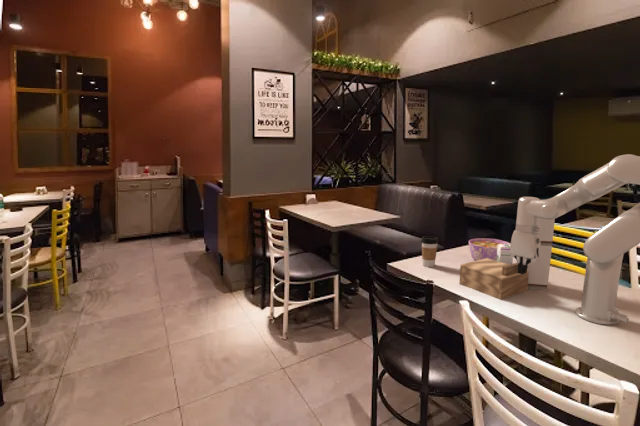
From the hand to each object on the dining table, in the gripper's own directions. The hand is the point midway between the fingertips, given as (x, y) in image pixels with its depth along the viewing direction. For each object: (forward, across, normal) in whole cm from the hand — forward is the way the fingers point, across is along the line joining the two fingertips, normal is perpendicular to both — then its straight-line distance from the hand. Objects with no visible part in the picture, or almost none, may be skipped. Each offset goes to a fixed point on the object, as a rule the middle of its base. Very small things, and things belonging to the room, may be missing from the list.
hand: (521, 273), depth 148 cm
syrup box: (+10, +19, -18) cm, 28 cm away
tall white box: (+10, +6, -17) cm, 21 cm away
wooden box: (+10, +12, 0) cm, 16 cm away
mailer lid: (+2, +12, 0) cm, 13 cm away
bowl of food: (+11, +33, -26) cm, 44 cm away
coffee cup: (+11, +48, +1) cm, 50 cm away
